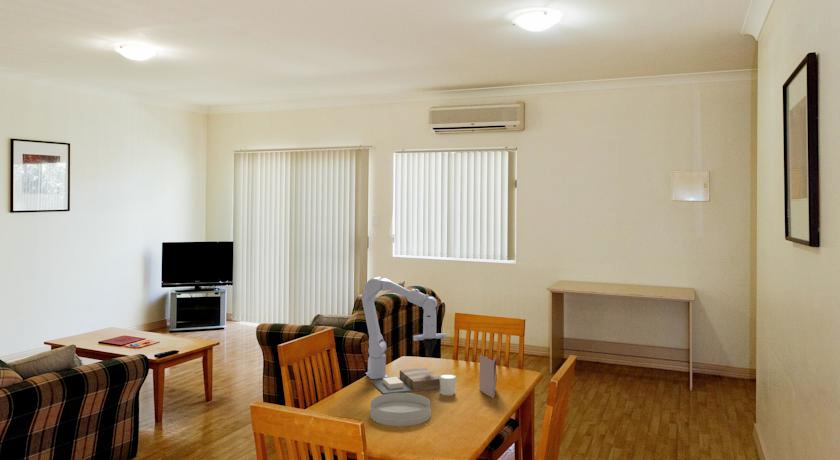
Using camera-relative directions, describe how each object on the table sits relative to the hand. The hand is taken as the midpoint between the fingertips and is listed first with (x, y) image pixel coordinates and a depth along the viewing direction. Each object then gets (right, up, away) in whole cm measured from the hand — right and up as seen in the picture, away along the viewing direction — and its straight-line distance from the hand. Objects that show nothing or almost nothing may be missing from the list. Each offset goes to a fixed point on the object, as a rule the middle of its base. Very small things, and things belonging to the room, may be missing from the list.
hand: (429, 355), depth 265 cm
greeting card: (+23, -12, -18) cm, 32 cm away
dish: (-11, -13, -43) cm, 47 cm away
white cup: (+7, -12, -18) cm, 23 cm away
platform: (-4, -11, -5) cm, 13 cm away
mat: (-16, -11, -10) cm, 22 cm away
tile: (-15, -9, -10) cm, 21 cm away
